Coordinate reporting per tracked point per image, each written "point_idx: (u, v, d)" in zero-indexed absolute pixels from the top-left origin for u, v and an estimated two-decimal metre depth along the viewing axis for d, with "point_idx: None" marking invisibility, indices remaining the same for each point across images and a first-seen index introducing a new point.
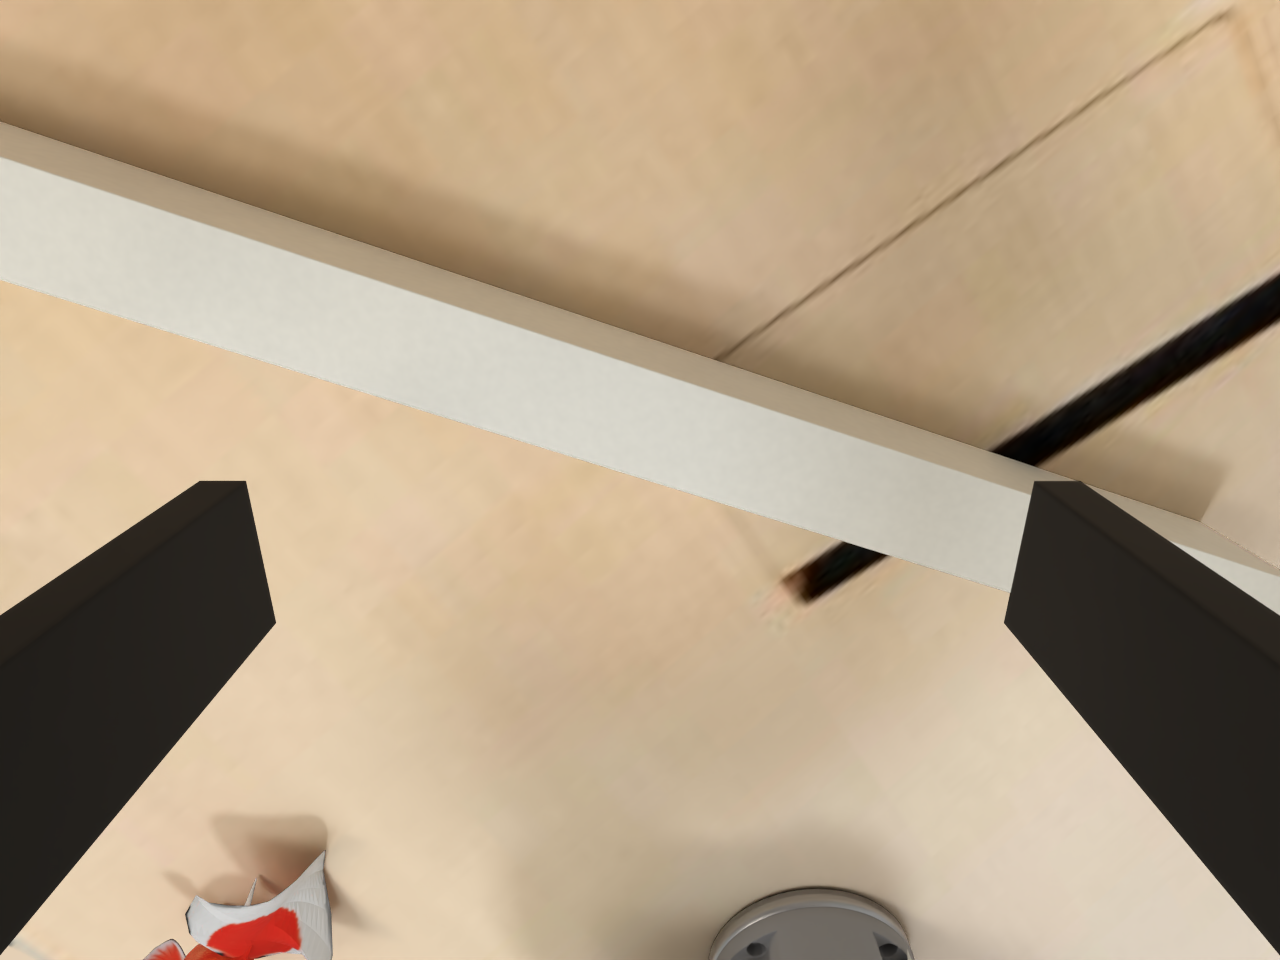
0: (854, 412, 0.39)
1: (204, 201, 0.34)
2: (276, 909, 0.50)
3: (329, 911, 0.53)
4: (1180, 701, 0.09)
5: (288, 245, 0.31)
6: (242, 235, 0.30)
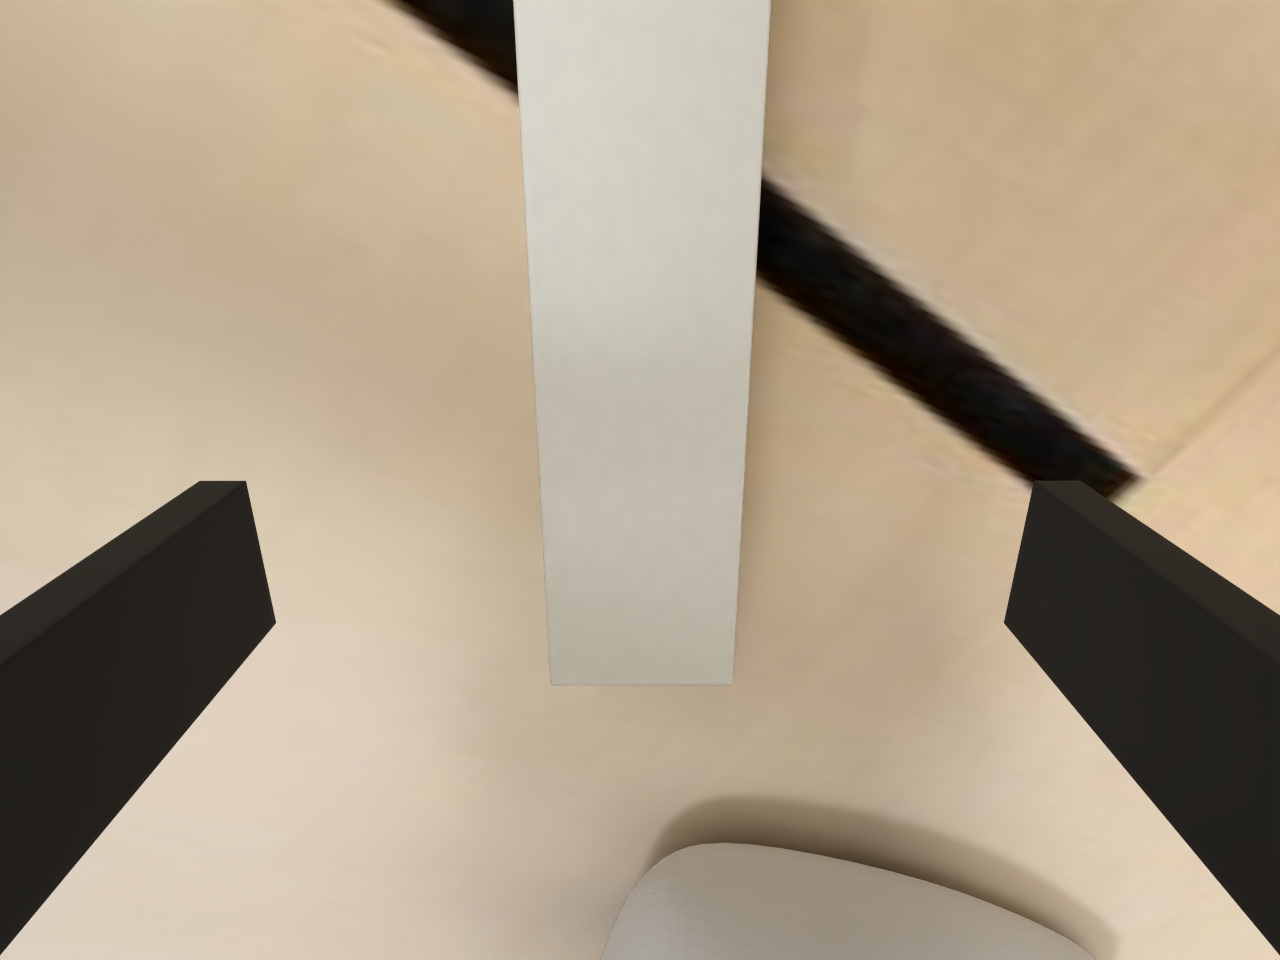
0: None
1: None
2: None
3: None
4: (1179, 702, 0.09)
5: None
6: None
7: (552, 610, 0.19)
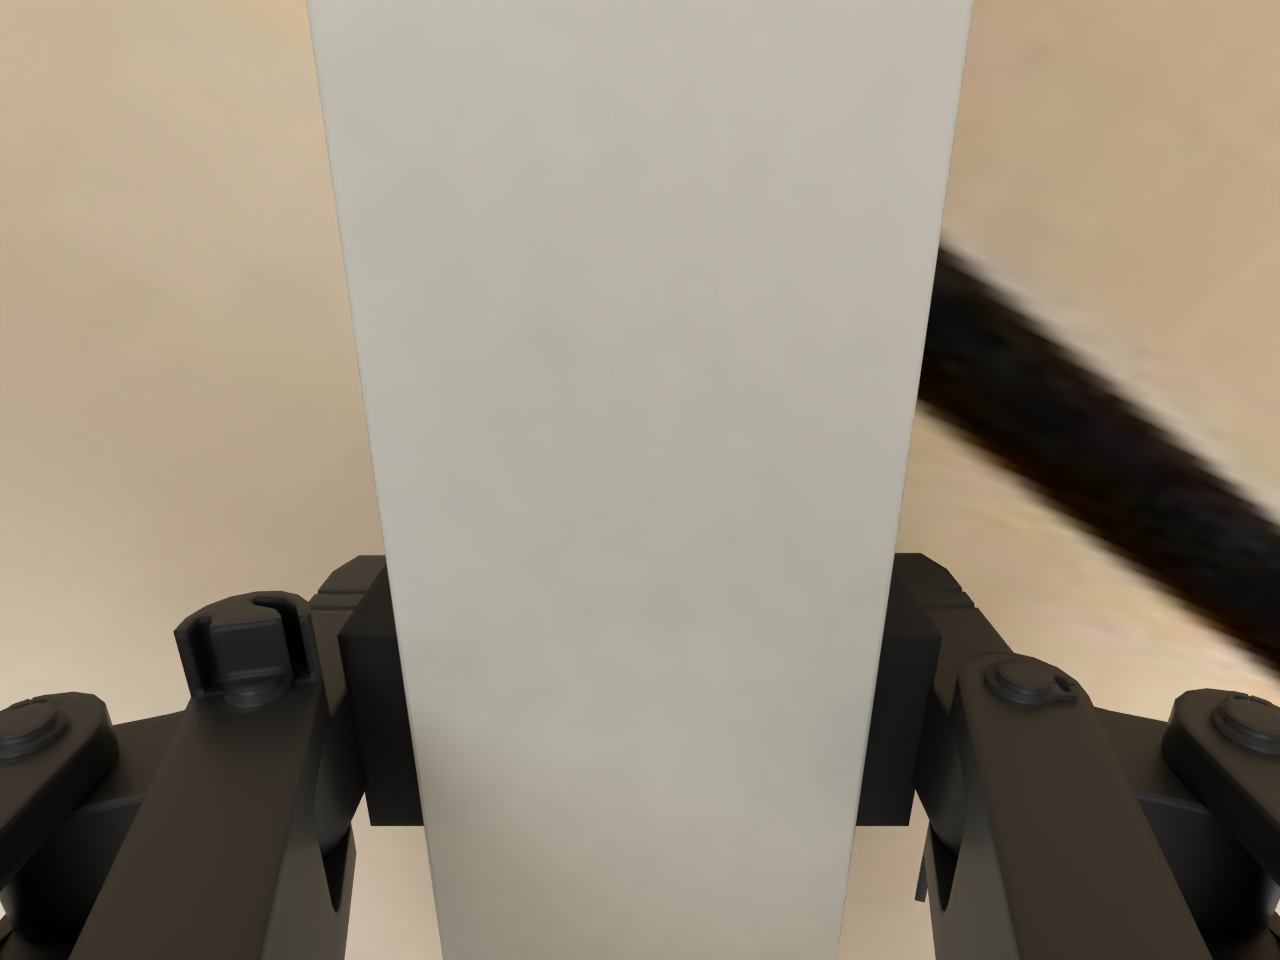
0: None
1: None
2: None
3: None
4: None
5: None
6: None
7: None
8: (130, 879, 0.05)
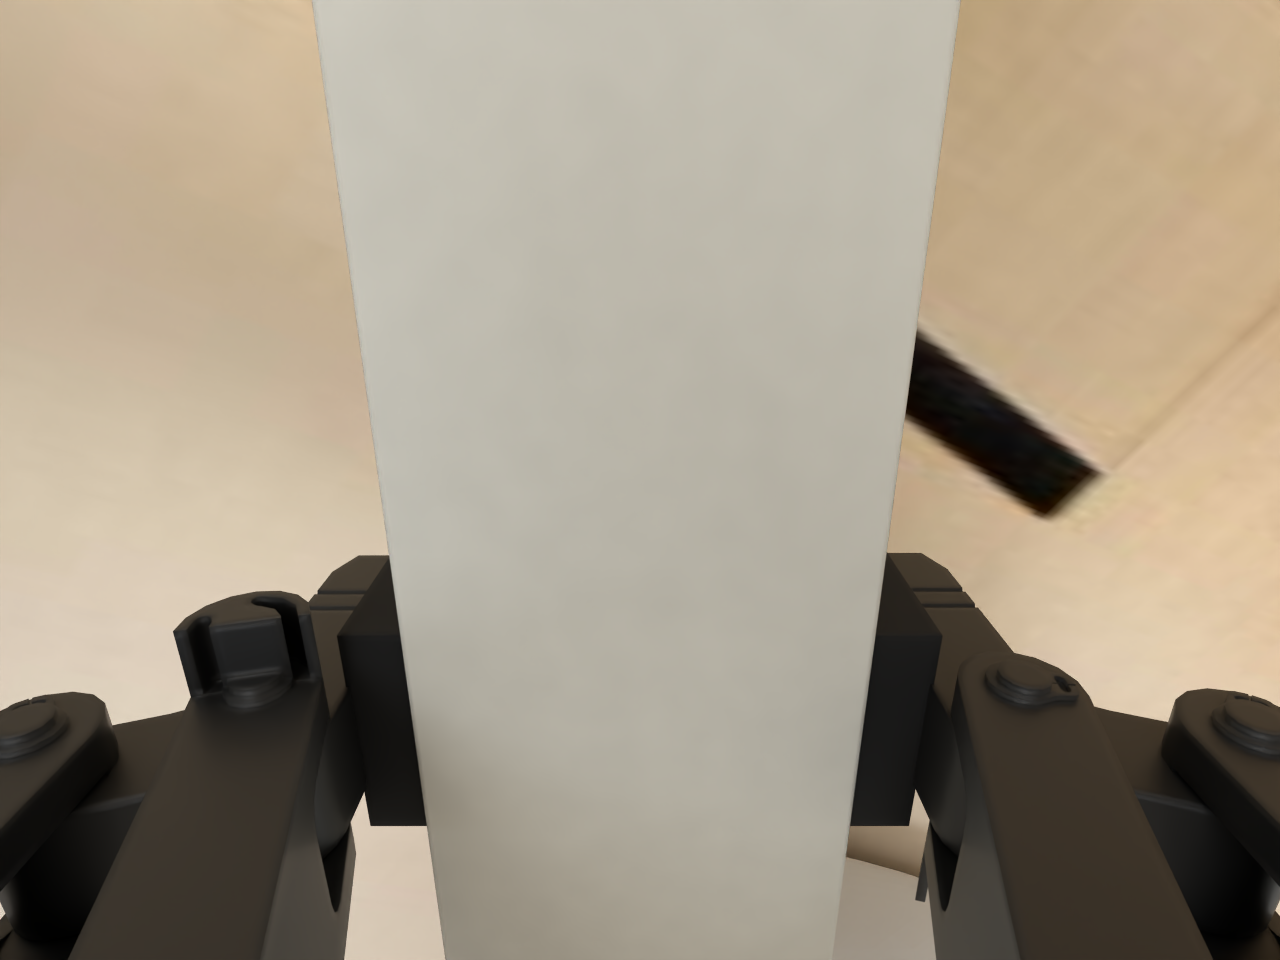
0: None
1: None
2: None
3: None
4: None
5: None
6: None
7: None
8: (129, 879, 0.05)
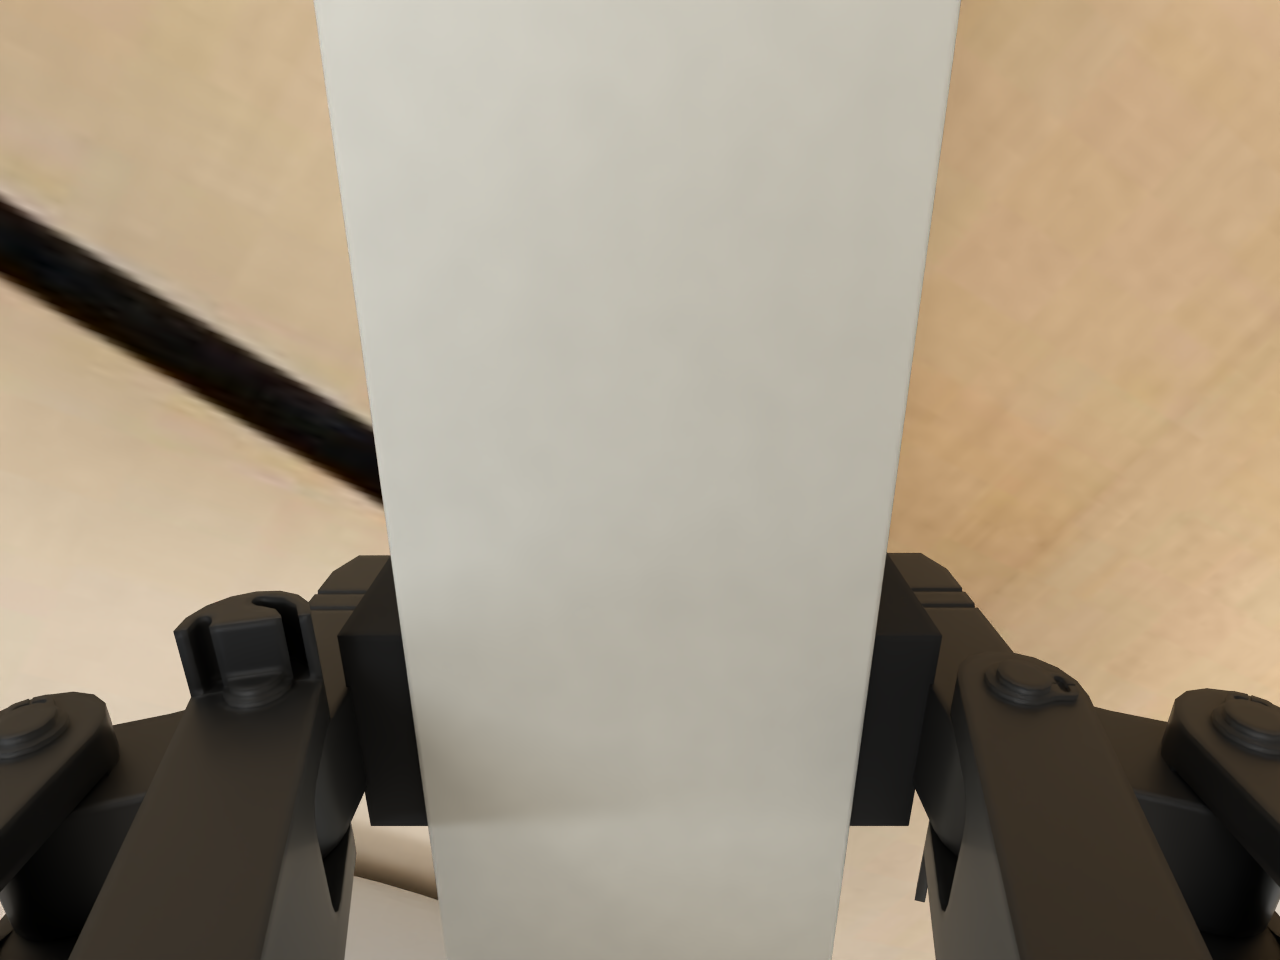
0: None
1: None
2: None
3: None
4: None
5: None
6: None
7: None
8: (130, 879, 0.05)
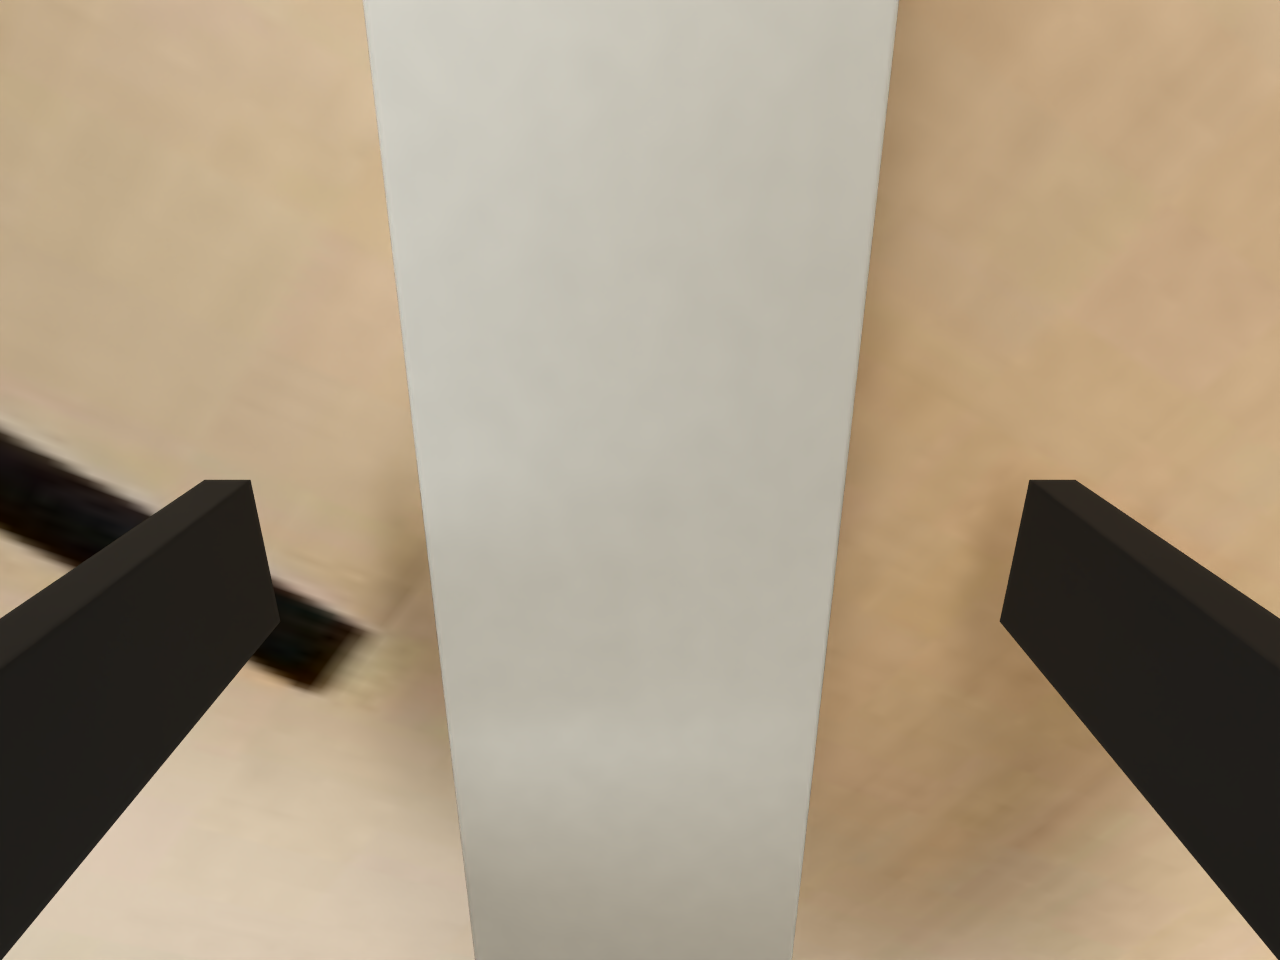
0: None
1: None
2: None
3: None
4: (1172, 700, 0.09)
5: None
6: None
7: (477, 896, 0.11)
8: None
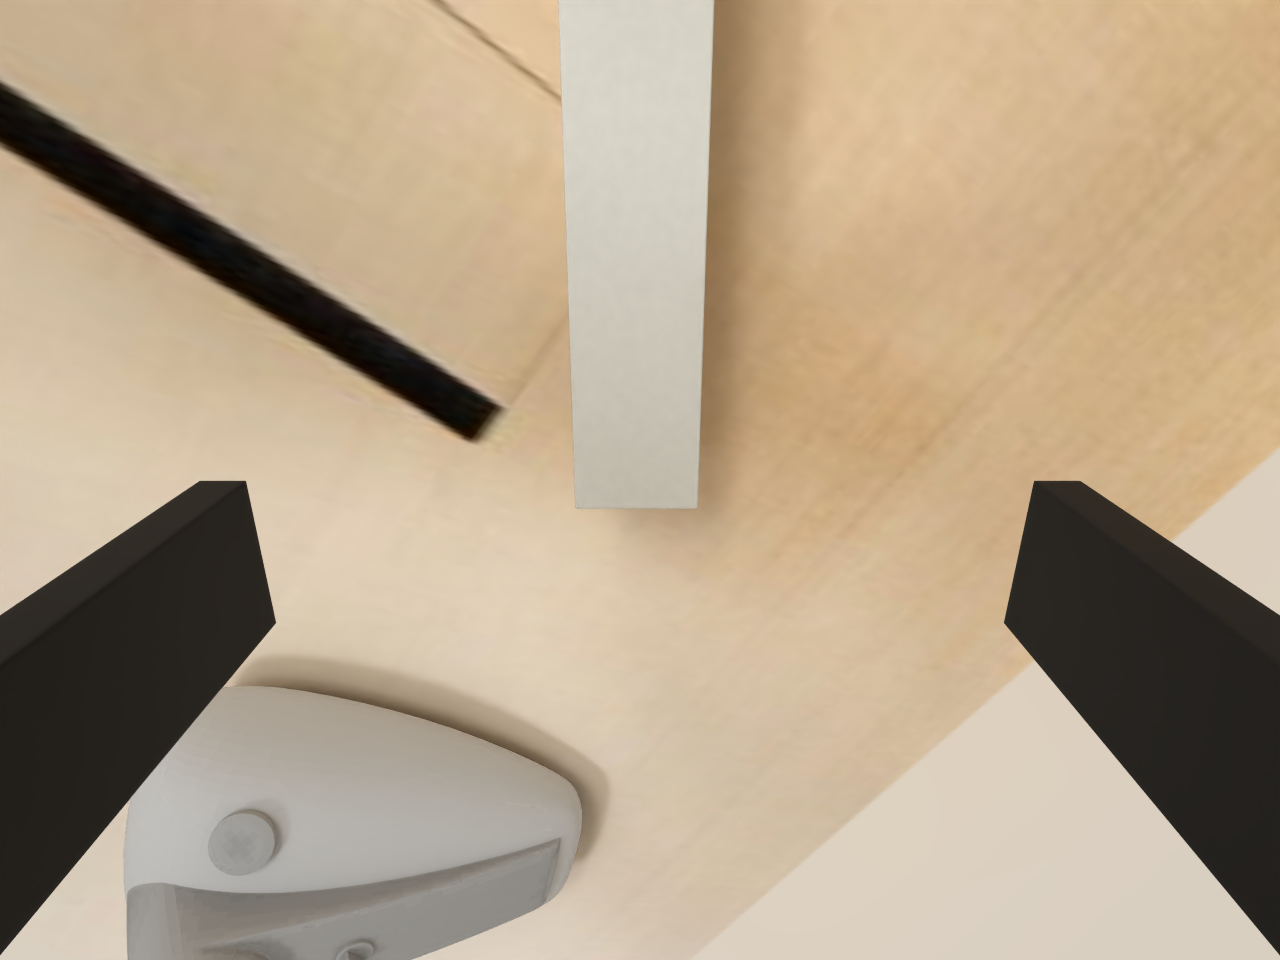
0: None
1: None
2: None
3: None
4: (1180, 701, 0.09)
5: None
6: None
7: (577, 453, 0.29)
8: None
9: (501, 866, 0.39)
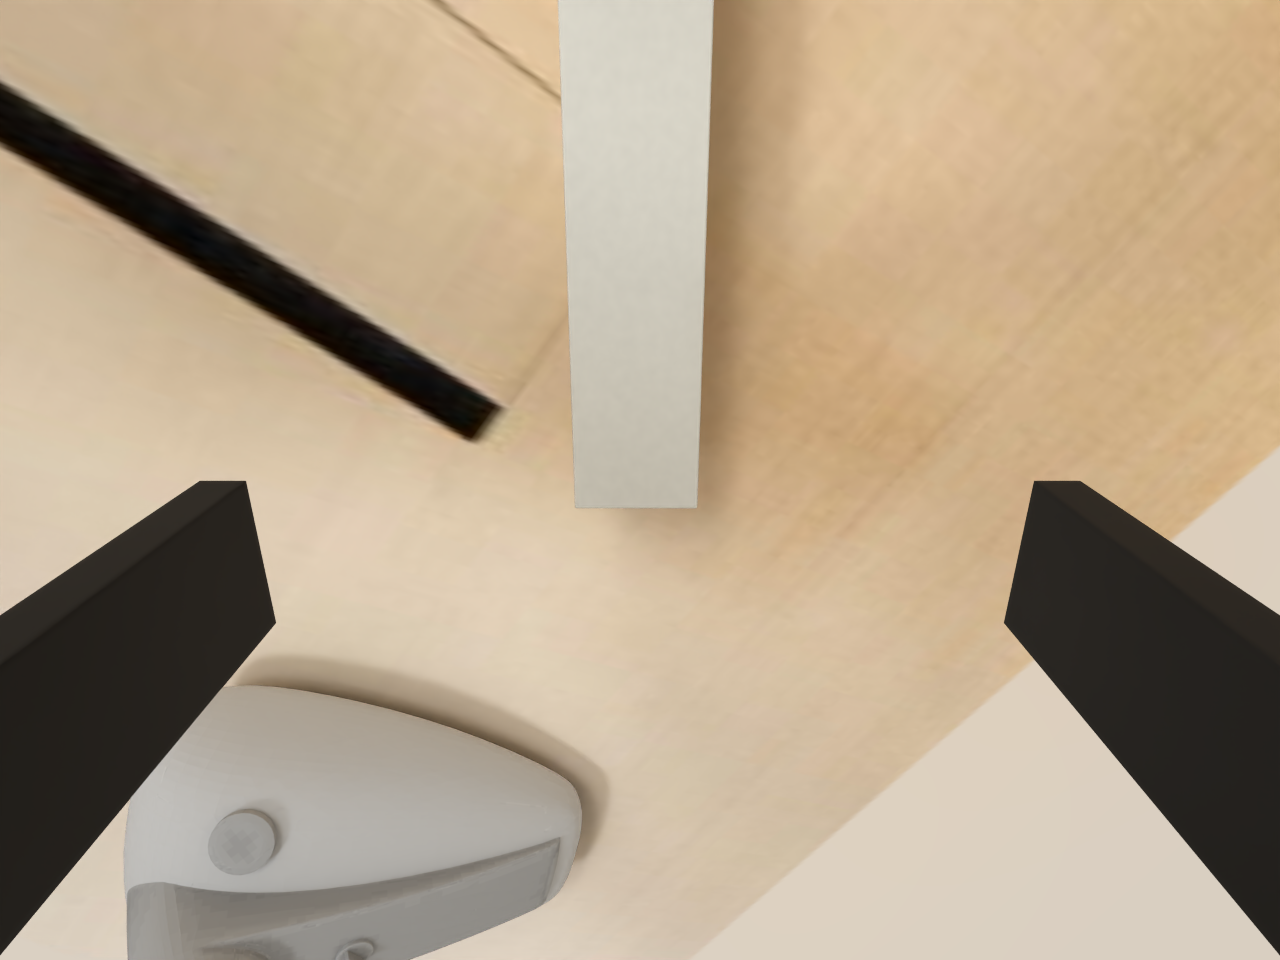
0: None
1: None
2: None
3: None
4: (1178, 701, 0.09)
5: None
6: None
7: (577, 453, 0.29)
8: None
9: (501, 865, 0.39)
